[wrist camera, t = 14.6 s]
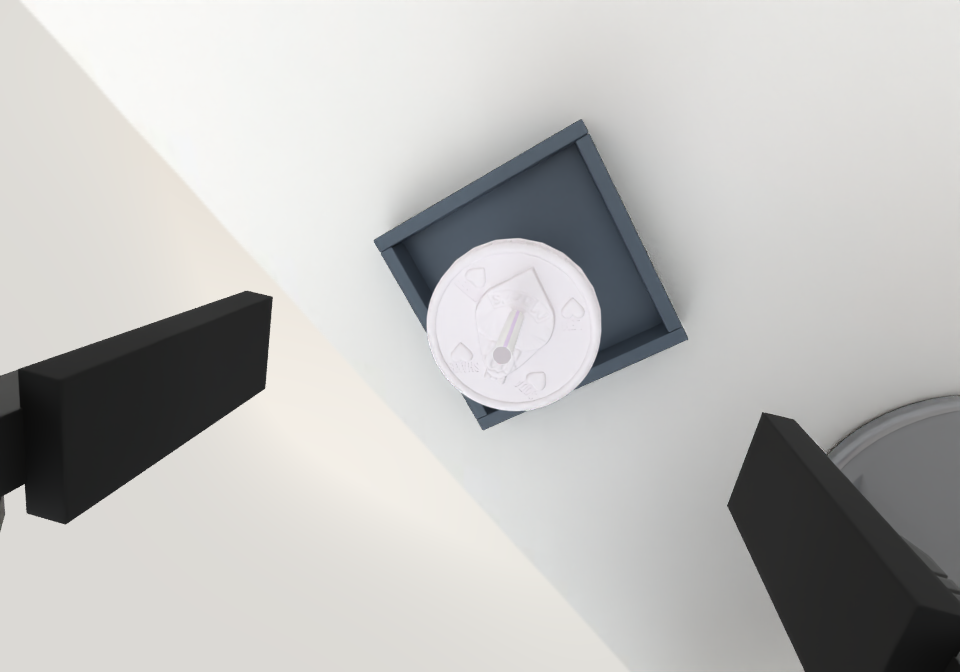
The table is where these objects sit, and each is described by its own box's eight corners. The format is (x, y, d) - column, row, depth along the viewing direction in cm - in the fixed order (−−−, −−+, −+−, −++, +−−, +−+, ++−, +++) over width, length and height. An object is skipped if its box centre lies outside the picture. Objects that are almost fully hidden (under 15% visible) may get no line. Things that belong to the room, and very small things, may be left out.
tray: (679, 326, 29) (688, 339, 27) (489, 411, 32) (482, 431, 30) (580, 122, 27) (581, 118, 25) (387, 235, 30) (372, 240, 28)
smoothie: (611, 241, 28) (648, 305, 15) (567, 355, 30) (564, 503, 17) (490, 201, 28) (419, 228, 15) (455, 317, 30) (364, 430, 17)
